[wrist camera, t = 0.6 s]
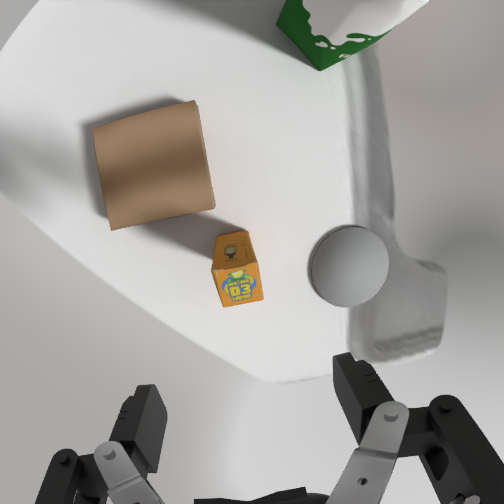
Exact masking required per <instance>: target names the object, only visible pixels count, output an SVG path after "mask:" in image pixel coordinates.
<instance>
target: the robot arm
mask: <svg viewBox="0 0 504 504" xmlns="http://www.w3.org/2000/svg"><path fill="white" fill-rule="evenodd" d="M333 382H334V388H335V392H336V395H337V397H338V400H339V402H340V404H341V406H342V409H343V411H344V413H345V415H346V418H347V420H348V422H349V424H350V427H351V429H352V431H353V434H354V436H355V438H356V441H357V443H358V445H360V446H359V447H358V449H357V448H356V449H355V450H354V452H353V454H352V455H351V457H350V459H349V461H348V464H347V465H346V467H345V470H344V471H343V474H342V475H341V477H340V479H339V481H338V483H337V484H336V486H335V488H334V490H333V492H332V493H331V495H330V496H328V495H325V494H318V493H307V492H306V488H305V487H301V488H296V489H290V490H285V491H279V492H275V493H273V494H270V495H267V496H264V497H261V498H258V499H255V500H252V501H240V500H231V499H224V498H211V499H194V504H380V502H381V499H382V497H383V494H384V492H385V489H386V486H387V484H388V482H389V479H390V477H391V474H392V471H393V469H394V466H395V463H396V460H397V458H399V457H408V456H417V455H418V456H419V458H420V460H421V462H422V464H423V466H424V468H425V470H426V473H427V474H428V477H429V479H430V481H431V483H432V485H433V488H434V489H435V492H436V494H437V496H438V499H439V501H440V503H441V504H504V464H503V462H502V460H501V459H500V458H499V456H498V454H497V453H496V451H495V450H494V448H493V447H492V445H491V444H490V442H489V441H488V440H487V438H486V437H485V435H484V434H483V432H482V431H481V429H480V428H479V427H478V425H477V424H476V422H475V421H474V420H473V418H472V417H471V416H470V414H469V413H468V411H467V410H466V409H465V407H464V406H463V404H462V403H461V402H460V400H459V399H458V398H456V397H454V396H451V395H440V396H438V397H436V398H434V399H433V400H432V401H431V402H430V405H429V406H428V407H420V408H407V407H406V406H405V405H404V404H403V403H400V402H396V401H395V400H394V399H393V397H392V396H391V394H390V393H389V391H388V389H387V388H386V386H385V385H384V383H383V382H382V380H380V377H379V376H378V374H376V371H375V370H374V368H373V367H372V365H371V364H369V363H367V362H366V361H364V360H360V361H355V360H354V358H353V356H352V355H351V353H350V352H347V353H343V354H339V355H335V356H333ZM166 423H167V410H166V407H165V405H164V403H163V401H162V399H161V396H160V394H159V392H158V390H157V388H156V386H155V385H154V384H149V385H138V386H137V388H136V391H135V394H134V396H129V397H128V398H127V400H126V401H125V402H124V403H123V405H122V407H121V410H120V413H119V415H118V419H117V420H116V423H115V425H114V428H113V431H112V433H111V436H110V439H109V441H108V442H104V443H102V444H100V445H99V446H98V447H97V448H96V449H95V452H94V453H93V454H88V455H82V456H78V455H77V454H76V452H75V451H74V450H72V449H62V450H60V451H58V452H57V453H56V454H55V455H54V456H53V458H52V460H51V462H50V465H49V467H48V470H47V473H46V475H45V477H44V480H43V483H42V486H41V488H40V491H39V494H38V496H37V499H36V502H35V504H106V501H107V497H108V496H109V497H110V499H111V500H112V502H113V504H165V503H164V502H163V501H162V499H161V498H160V496H159V495H158V494H157V493H156V491H155V490H154V488H153V487H152V486H151V484H150V483H149V481H148V480H147V474H148V473H157V469H158V464H159V458H160V453H161V448H162V443H163V438H164V433H165V428H166ZM76 491H77V493H76ZM75 494H76V496H75ZM74 497H75V500H74ZM73 501H74V503H73Z"/></svg>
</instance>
